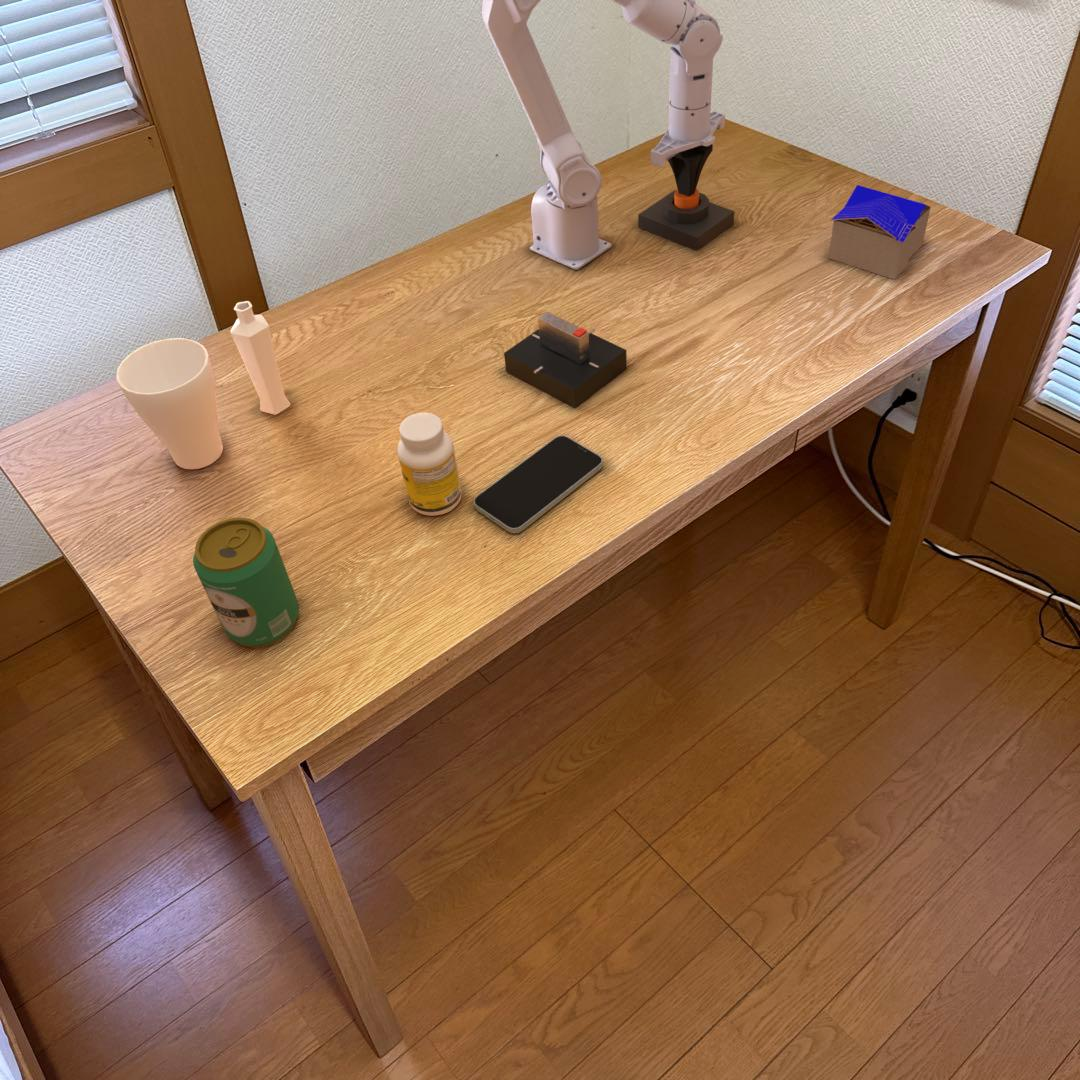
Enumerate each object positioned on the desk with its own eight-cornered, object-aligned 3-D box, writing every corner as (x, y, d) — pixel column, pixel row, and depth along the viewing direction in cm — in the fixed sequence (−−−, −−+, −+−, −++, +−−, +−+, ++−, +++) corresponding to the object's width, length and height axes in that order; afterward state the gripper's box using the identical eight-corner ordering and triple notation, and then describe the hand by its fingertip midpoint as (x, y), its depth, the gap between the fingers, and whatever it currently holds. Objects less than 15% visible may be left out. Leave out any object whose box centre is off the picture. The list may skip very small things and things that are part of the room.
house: (895, 281, 143) (906, 229, 137) (825, 258, 148) (832, 207, 142) (929, 246, 148) (940, 194, 143) (860, 225, 153) (868, 174, 148)
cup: (167, 494, 124) (126, 406, 114) (147, 444, 131) (107, 356, 121) (251, 462, 127) (219, 373, 117) (228, 415, 133) (195, 327, 124)
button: (669, 205, 154) (669, 194, 153) (684, 195, 156) (684, 184, 154) (688, 212, 152) (689, 201, 151) (703, 202, 154) (704, 191, 153)
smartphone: (469, 501, 118) (560, 432, 125) (470, 506, 119) (561, 438, 126) (514, 532, 114) (606, 459, 121) (515, 537, 115) (607, 465, 122)
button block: (638, 227, 157) (638, 203, 154) (675, 202, 161) (675, 178, 159) (697, 251, 152) (698, 226, 149) (733, 224, 156) (735, 199, 153)
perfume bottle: (300, 397, 135) (270, 298, 124) (281, 418, 132) (248, 319, 121) (271, 390, 136) (239, 291, 125) (251, 410, 134) (217, 311, 123)
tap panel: (502, 374, 135) (500, 354, 133) (560, 332, 140) (559, 313, 138) (572, 410, 129) (570, 390, 127) (629, 366, 134) (629, 346, 132)
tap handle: (540, 344, 134) (537, 316, 131) (549, 337, 135) (547, 309, 132) (580, 365, 130) (579, 337, 127) (590, 358, 131) (588, 330, 128)
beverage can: (210, 640, 108) (172, 563, 99) (251, 584, 113) (218, 506, 104) (276, 659, 106) (243, 582, 97) (315, 601, 111) (286, 522, 102)
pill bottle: (412, 481, 123) (395, 408, 115) (464, 479, 122) (451, 406, 114) (405, 519, 118) (388, 446, 110) (460, 517, 118) (446, 444, 110)
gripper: (680, 128, 137) (677, 222, 147) (745, 88, 144) (738, 180, 154) (638, 114, 141) (638, 207, 151) (703, 76, 148) (699, 167, 158)
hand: (686, 192), depth 153 cm, fingers closed, pressing on button
